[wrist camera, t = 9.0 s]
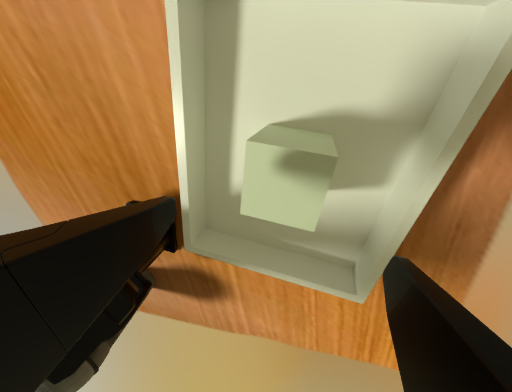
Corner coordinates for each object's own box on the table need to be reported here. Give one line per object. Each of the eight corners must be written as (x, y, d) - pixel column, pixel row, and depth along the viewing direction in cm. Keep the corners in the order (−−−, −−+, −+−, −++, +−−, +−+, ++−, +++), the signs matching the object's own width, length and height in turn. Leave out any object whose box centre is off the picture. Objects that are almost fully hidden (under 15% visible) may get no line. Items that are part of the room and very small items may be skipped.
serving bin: (355, 270, 22) (363, 304, 18) (202, 227, 25) (184, 250, 21) (503, -8, 11) (586, -50, 8) (198, -23, 14) (160, -59, 11)
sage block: (315, 191, 18) (314, 232, 13) (260, 179, 19) (240, 213, 14) (331, 134, 16) (338, 157, 10) (268, 123, 16) (246, 140, 11)
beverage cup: (170, 287, 33) (13, 502, 16) (146, 295, 36) (-6, 480, 19) (139, 255, 31) (-78, 459, 14) (116, 267, 34) (-81, 443, 17)
